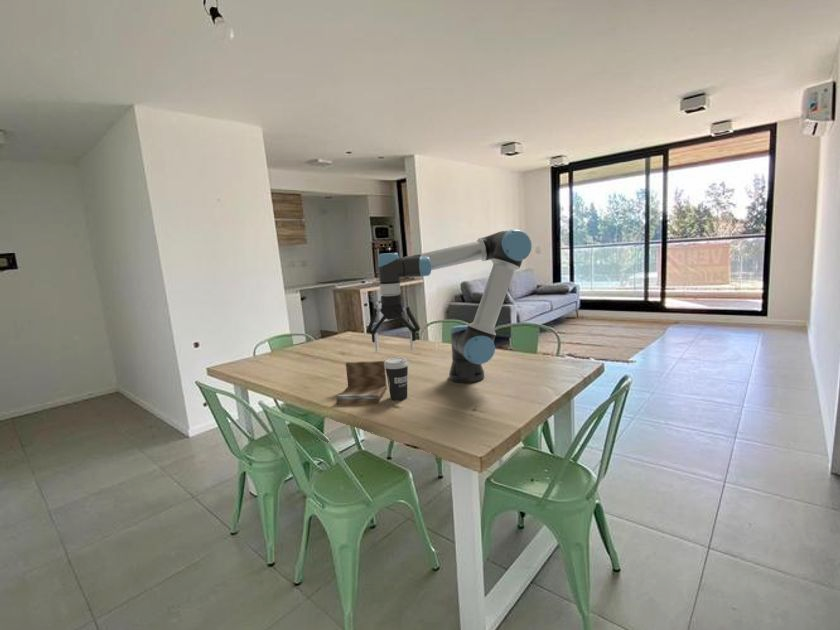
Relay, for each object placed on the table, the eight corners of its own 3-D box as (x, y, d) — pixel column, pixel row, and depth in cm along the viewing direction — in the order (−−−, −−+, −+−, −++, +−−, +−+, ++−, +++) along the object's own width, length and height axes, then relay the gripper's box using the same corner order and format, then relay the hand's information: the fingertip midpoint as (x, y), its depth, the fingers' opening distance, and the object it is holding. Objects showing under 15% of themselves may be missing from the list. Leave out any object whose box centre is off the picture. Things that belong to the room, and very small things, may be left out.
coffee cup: (389, 403, 159) (386, 365, 156) (384, 395, 168) (381, 359, 166) (413, 399, 161) (411, 361, 159) (407, 392, 170) (405, 355, 168)
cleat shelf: (386, 388, 176) (384, 360, 174) (378, 403, 160) (375, 372, 158) (349, 389, 178) (346, 362, 176) (337, 404, 162) (334, 374, 160)
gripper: (425, 292, 160) (428, 346, 164) (360, 295, 164) (365, 348, 167) (422, 294, 153) (426, 351, 156) (355, 297, 156) (360, 353, 159)
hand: (394, 350), depth 162 cm, fingers open, 13 cm apart
